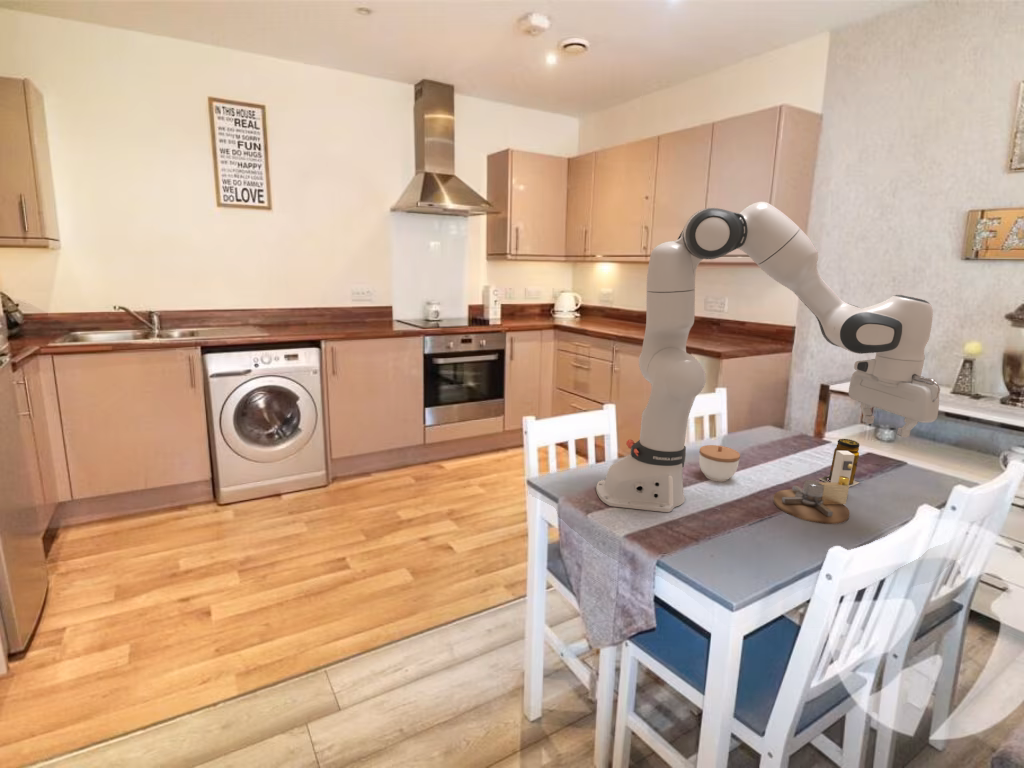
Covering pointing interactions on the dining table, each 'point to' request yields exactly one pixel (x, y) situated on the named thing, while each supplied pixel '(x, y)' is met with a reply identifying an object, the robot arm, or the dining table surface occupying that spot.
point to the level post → (842, 465)
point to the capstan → (820, 494)
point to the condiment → (851, 447)
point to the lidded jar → (718, 462)
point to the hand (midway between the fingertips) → (884, 429)
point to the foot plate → (811, 510)
